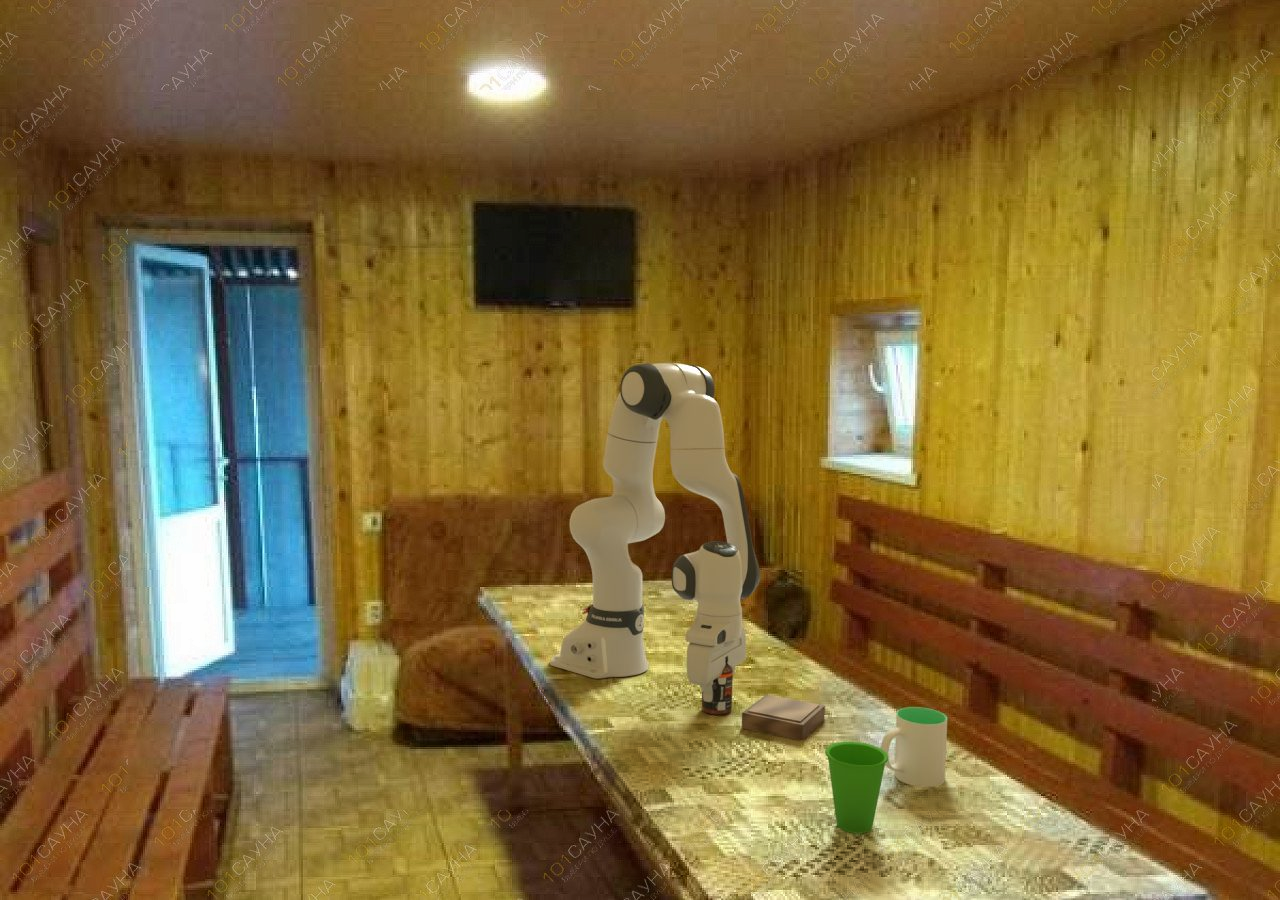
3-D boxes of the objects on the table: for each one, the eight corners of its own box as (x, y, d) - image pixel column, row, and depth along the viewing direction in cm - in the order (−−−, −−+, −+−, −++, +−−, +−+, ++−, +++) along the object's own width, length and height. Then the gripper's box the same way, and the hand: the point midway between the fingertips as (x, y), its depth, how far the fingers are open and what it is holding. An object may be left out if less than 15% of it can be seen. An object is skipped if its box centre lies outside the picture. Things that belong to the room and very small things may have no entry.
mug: (902, 796, 150) (904, 731, 150) (866, 777, 157) (868, 715, 157) (955, 780, 156) (958, 719, 156) (918, 763, 163) (921, 704, 162)
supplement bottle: (730, 717, 184) (731, 660, 183) (699, 714, 185) (700, 657, 184) (733, 706, 190) (734, 651, 189) (703, 704, 191) (704, 649, 190)
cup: (816, 812, 144) (818, 741, 143) (874, 810, 145) (876, 740, 144) (832, 841, 135) (835, 766, 134) (895, 839, 136) (897, 764, 135)
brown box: (741, 728, 178) (742, 711, 178) (766, 709, 189) (766, 692, 189) (802, 741, 172) (802, 723, 172) (824, 720, 183) (824, 704, 183)
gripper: (726, 612, 197) (725, 677, 198) (681, 635, 179) (680, 706, 180) (754, 616, 194) (753, 683, 195) (711, 640, 176) (710, 713, 177)
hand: (717, 694), depth 187 cm, fingers open, 7 cm apart
